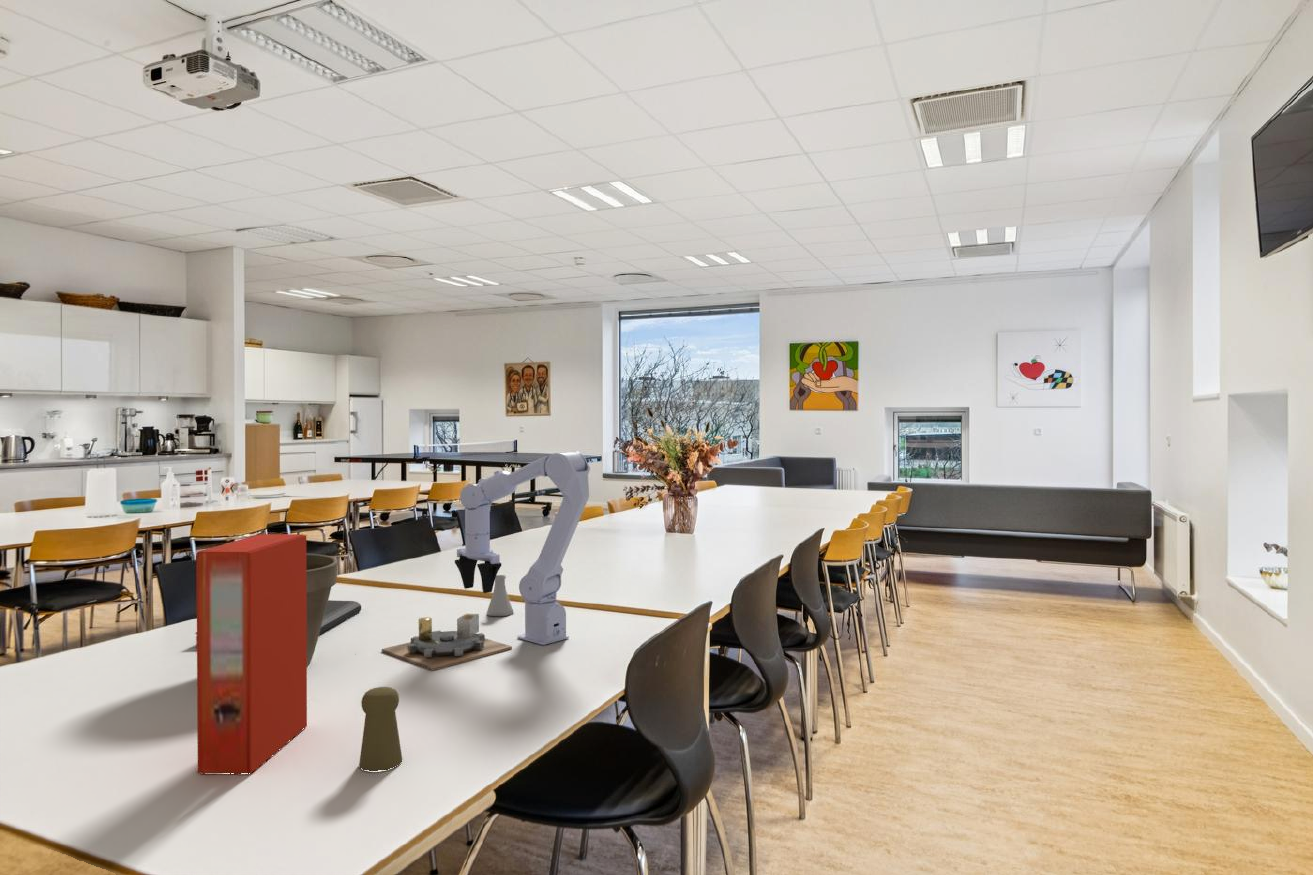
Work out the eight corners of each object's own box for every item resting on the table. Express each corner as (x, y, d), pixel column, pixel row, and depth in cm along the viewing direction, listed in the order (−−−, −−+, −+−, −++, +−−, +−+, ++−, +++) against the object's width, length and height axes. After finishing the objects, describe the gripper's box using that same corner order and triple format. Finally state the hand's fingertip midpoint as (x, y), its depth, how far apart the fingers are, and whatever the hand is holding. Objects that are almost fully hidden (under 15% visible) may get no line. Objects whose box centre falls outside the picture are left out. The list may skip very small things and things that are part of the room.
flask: (517, 610, 208) (517, 573, 208) (509, 617, 201) (509, 579, 201) (491, 610, 209) (490, 573, 209) (482, 617, 202) (481, 578, 202)
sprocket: (478, 632, 183) (478, 607, 183) (491, 652, 168) (491, 624, 168) (404, 640, 177) (404, 614, 177) (410, 661, 161) (410, 633, 161)
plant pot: (364, 660, 165) (363, 558, 165) (253, 695, 144) (251, 578, 144) (290, 643, 178) (289, 548, 178) (178, 673, 157) (177, 566, 156)
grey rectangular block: (479, 631, 179) (478, 613, 179) (469, 637, 174) (469, 619, 174) (466, 630, 179) (466, 613, 179) (457, 636, 174) (457, 618, 174)
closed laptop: (272, 598, 208) (361, 600, 207) (272, 613, 208) (361, 615, 207) (193, 631, 175) (299, 633, 174) (193, 649, 175) (299, 652, 174)
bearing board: (511, 649, 173) (511, 646, 173) (432, 670, 158) (432, 667, 158) (459, 633, 186) (459, 630, 186) (381, 651, 171) (381, 648, 171)
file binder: (308, 727, 129) (306, 534, 128) (253, 774, 112) (250, 551, 111) (260, 727, 129) (257, 534, 128) (197, 774, 112) (194, 551, 111)
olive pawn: (407, 754, 118) (406, 682, 118) (395, 772, 112) (394, 696, 112) (367, 755, 118) (366, 682, 118) (352, 773, 112) (352, 696, 112)
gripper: (509, 534, 186) (510, 591, 186) (473, 529, 195) (474, 583, 196) (485, 538, 180) (485, 596, 181) (449, 532, 190) (449, 587, 190)
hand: (478, 590), depth 188 cm, fingers open, 7 cm apart
